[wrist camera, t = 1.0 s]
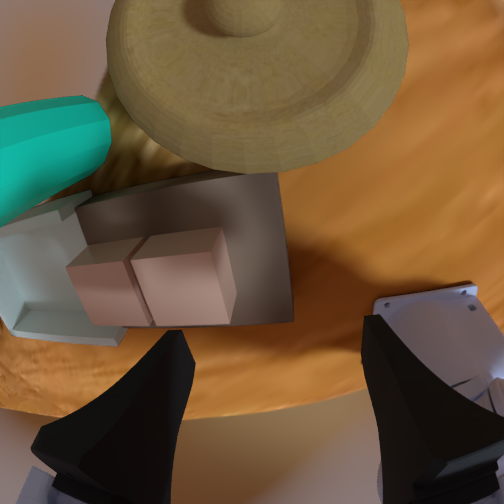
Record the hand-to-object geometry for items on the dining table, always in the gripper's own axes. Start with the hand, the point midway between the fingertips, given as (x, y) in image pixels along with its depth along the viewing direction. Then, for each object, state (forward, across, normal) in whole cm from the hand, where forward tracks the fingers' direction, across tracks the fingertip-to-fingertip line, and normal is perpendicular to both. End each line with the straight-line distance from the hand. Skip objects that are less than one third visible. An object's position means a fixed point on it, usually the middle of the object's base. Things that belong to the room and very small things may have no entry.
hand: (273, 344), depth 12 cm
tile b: (+7, +10, 0) cm, 12 cm away
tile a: (+7, +5, 0) cm, 9 cm away
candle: (+10, +12, -10) cm, 18 cm away
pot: (+10, -1, -12) cm, 15 cm away
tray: (+9, +20, 0) cm, 22 cm away
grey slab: (+9, +6, 0) cm, 11 cm away
